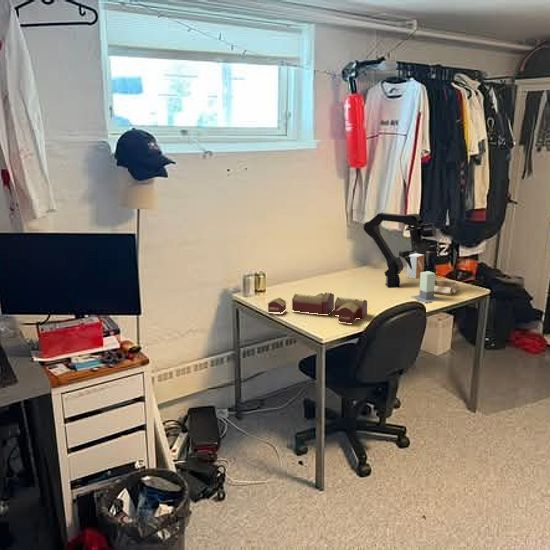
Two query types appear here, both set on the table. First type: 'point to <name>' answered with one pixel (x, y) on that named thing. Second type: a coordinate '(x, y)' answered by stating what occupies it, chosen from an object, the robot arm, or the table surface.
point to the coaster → (426, 300)
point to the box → (427, 285)
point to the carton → (445, 287)
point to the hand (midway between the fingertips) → (419, 267)
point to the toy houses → (323, 306)
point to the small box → (415, 265)
